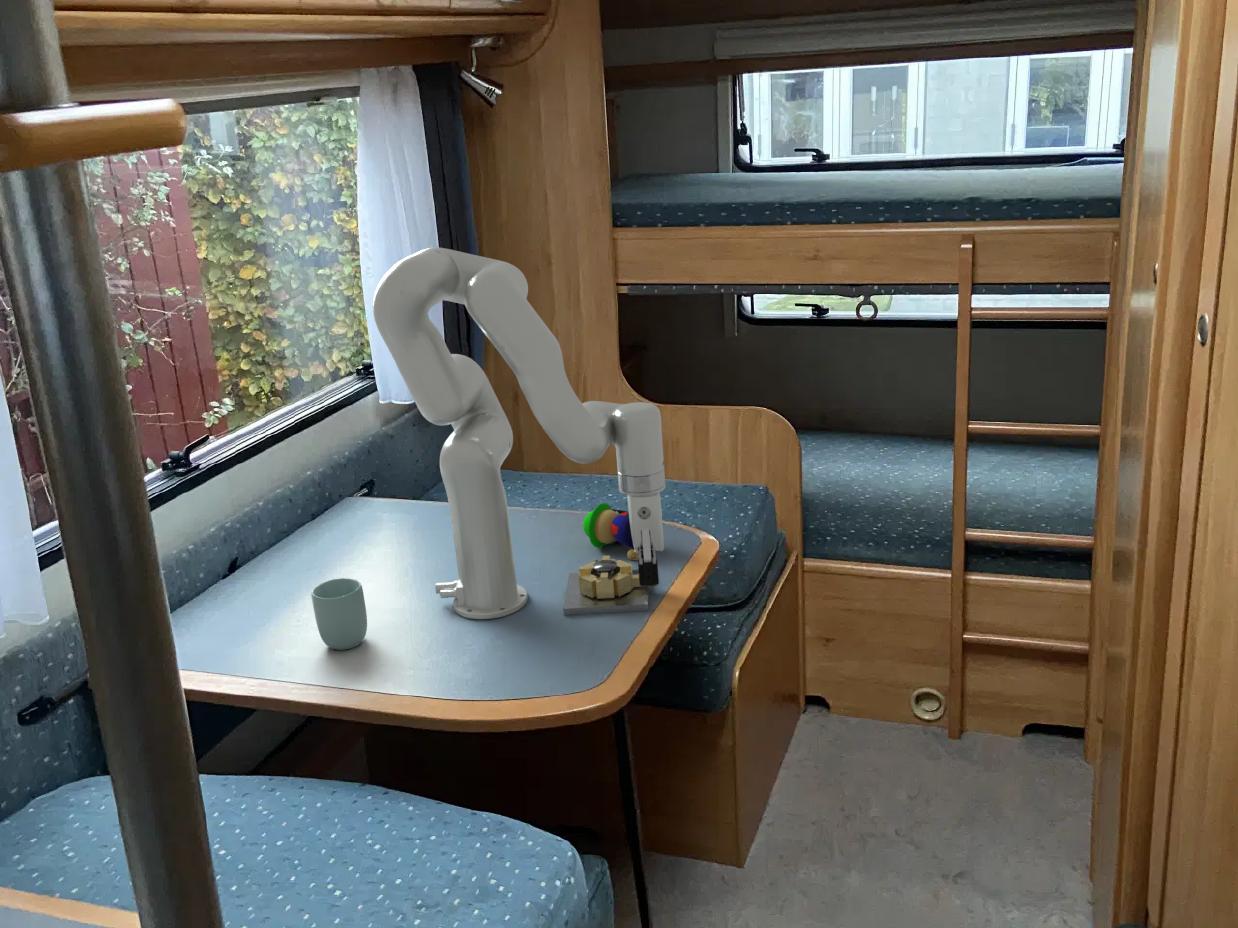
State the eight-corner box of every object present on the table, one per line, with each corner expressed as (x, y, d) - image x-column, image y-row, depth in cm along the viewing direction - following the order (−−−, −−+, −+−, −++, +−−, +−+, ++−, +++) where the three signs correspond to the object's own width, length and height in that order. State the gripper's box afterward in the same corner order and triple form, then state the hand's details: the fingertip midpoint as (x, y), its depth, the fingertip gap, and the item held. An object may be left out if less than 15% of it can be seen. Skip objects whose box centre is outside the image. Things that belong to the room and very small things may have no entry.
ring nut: (578, 599, 187) (576, 572, 186) (582, 576, 196) (579, 550, 194) (657, 595, 187) (655, 567, 185) (657, 572, 195) (655, 546, 193)
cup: (346, 659, 177) (336, 602, 173) (311, 650, 181) (300, 593, 177) (380, 638, 183) (371, 582, 180) (345, 629, 187) (336, 574, 184)
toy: (673, 508, 210) (605, 498, 217) (653, 494, 203) (583, 484, 210) (657, 569, 207) (588, 556, 215) (636, 557, 200) (566, 544, 207)
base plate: (563, 615, 186) (560, 584, 184) (570, 578, 199) (567, 549, 198) (648, 610, 185) (645, 579, 183) (648, 573, 199) (646, 544, 197)
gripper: (667, 494, 173) (674, 601, 179) (662, 463, 188) (669, 563, 193) (618, 497, 173) (627, 604, 179) (617, 466, 188) (625, 566, 194)
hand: (649, 583), depth 186 cm, fingers closed
